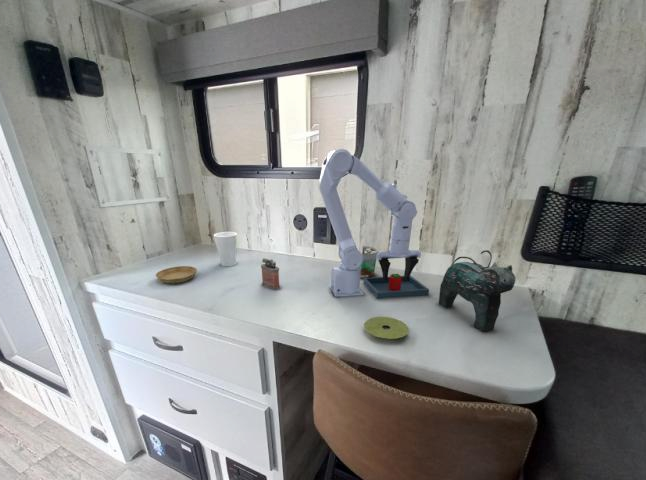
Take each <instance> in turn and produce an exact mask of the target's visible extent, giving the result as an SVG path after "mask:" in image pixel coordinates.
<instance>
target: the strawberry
mask: <svg viewBox="0 0 646 480" xmlns="http://www.w3.org/2000/svg"><path fill="white" fill-rule="evenodd" d="M402 276H403V275H400V274H399V273H391V274H390V275H389V277H390V279H389V287H388V289H389V290H391V291H399V290H400V289H401V281H402Z"/></svg>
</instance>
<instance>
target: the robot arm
mask: <svg viewBox="0 0 646 480" xmlns="http://www.w3.org/2000/svg"><path fill="white" fill-rule="evenodd" d="M346 174H348V175H353V176H355V177H357V178H358V179H360V180H361V181H362V182H363V183H364V184H365V185H367V186H368V187H370V189H371V190H373V191H374V193H375V199H376V200H377V201H378V202H379V203H381V204H382V205H383V206H384V207H385V208H386V209H387V210H389V212H391V215H392V216H393V220H392V221H393V223H392V230H391V239H390V248H389V250H386V251H381V252H379V251H378V253H377V255H376V258H377V259H376V260H378V263H379V265H380V266H379V267H380V269H381V273H382V277H383V279H384V280H387V279H388V277H389V270H390V266H391V262H390V260H391V259H392V260H393V259H404V261H405V262H404V263H405V264H404V265H405V266H404V272H403V276H404V277H405V278H406V279H409V277H410V275H411V274H412V272H413V270H414V269H415V267H416V266H417V264H418V263H419V261H420V258H421V256H422V251H420V250H415V249H414V250H413V249H411V250H410V249H409V248H410V242H411V234H412V227H413V220H414V219H415V217H416V216H417V215H418V210H417V205H416V204H415V202H413V201H412V200H411V201H410V200H408V199H407V198H408V196H407V195H406V194H403V193H402V192H400V191H399V190H398V189H397V185H396V184H395V183H394V182H393V183H391V182H389V181H388V182H383V181H382V180H381V179H380V178H379V177H378V176H377V175H376V174H375V173H374V172H373V171H372V170H371V169H370V168H369V167H368V166H367V165H366V164H365V163H364V162H363V161H361V160H360V159H359V158H358V157H357V156H355V155H354V154H351V152H350V151H349V150H347V149H345V148H339V149H333V150H331V151H329V152H328V153H327V155H326V156H325V158H324V160H323V161H322V165H321V171H320V176H319V181H318V189H319V192H320V196H321V198H322V201H323V203H324V207H325V209H326V212H327V215H328V218H329V221H330V224H331V226H332V229H333V232H334V236H335V238H336V241H337V246H338V257H339V259H340V261H339V264H338V265H337V266H335V267H332V268H331V273H330V275H331V276H330V290H331V292H332V294H333V295H334V297H335V298H338V297H352V296H353V297H354V296H363V295H364V293H363V291H362V290H361V289H360V285H361V279H360V275H361V265H362V263H363V255H362V252H361V251H360V250H359V249H358V247H357V244H356V242H355V239H354V238H353V236H352V231H351V229H350V226H349V223H348V219H347V217H346V214H345V211H344V208H343V205H342V204H343V203H342V202H341V199H340V196H339V192H338V190H337V189H338V188H337V187H338V186H339V184H340V182H341V181H342V178H343V177H344V176H345V175H346Z"/></svg>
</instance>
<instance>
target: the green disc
mask: <svg viewBox="0 0 646 480" xmlns="http://www.w3.org/2000/svg"><path fill="white" fill-rule="evenodd" d="M363 328H364V330H365V331H366V332H367V333H368V334H370V335H372V336H374V337H377V338H382V339H388V340H389V339H391V340H395V339H399V338H403V337H405V336H407V335H408V334H409V332H410V330H409V329H410V328H409V326H408V325H407V324H406V323H405V322H403V321H402V320H400V319H397V318H393V317H390V316H373V317H371V318H368V319H366V320H365V321H364V323H363Z"/></svg>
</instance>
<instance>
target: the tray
mask: <svg viewBox="0 0 646 480" xmlns="http://www.w3.org/2000/svg"><path fill="white" fill-rule="evenodd" d="M401 276H402V281H401V289H400V290H399V291H391V290H389V289H388V287H389V279H390V276H388V279H387V280H384V279H383V276H377V277H371V278H364V279H363V285H364V286H365V287H366V288H367V289H368V290H369V292H370V293H371V294H372V295H373V296H374V298H375V299H376V300H382V299H394V298H395V299H396V298H410V297H424V296H429V293H430V289H429V288H428V287H426V286H425V285H424V284H422V283H421V282H420V281H419V280H418V279H416V278H415V277H413V276H412V275H411V274H410V277H409V279H406V278H405V277H404V275H401Z"/></svg>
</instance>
